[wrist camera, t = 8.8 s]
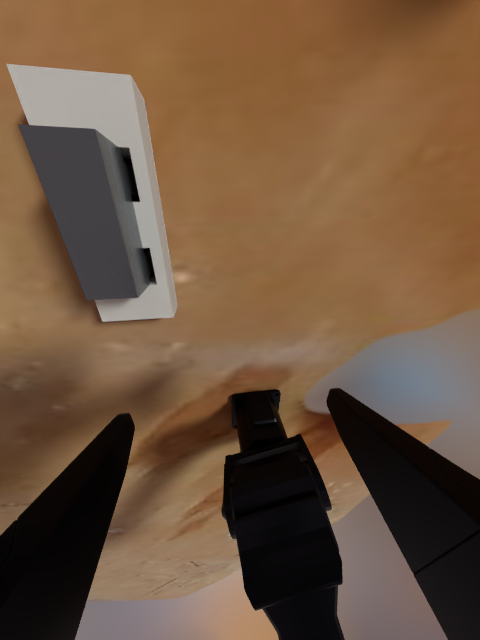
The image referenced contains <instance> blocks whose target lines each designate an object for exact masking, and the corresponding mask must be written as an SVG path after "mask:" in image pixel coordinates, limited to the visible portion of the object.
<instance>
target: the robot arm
mask: <svg viewBox="0 0 480 640" xmlns="http://www.w3.org/2000/svg"><path fill="white" fill-rule="evenodd" d="M280 395H281V393H280V391H279V390H269V391H261V392H252V393H243V394H235V395H233V396H232V426H233V428H234V429H237V430H238V437H239V445H240V453H237V454H234V455H227V456H226V459H225V464H224V494H223V503H222V516H223V517H224V518H225V519H226V520H227V524H228V528H229V532H230V535H231V537H232V539H237V545H238V550H239V556H240V562H241V567H242V574H243V582H244V588H245V592H246V594H247V596H248V598H249V600H250V602H251V604H252V606H253V608H254V609H255V610H259V609H263V610H264V612H265V613H266V615H267V617H268V618H269V620H270V621H271V623H272V625H273V626H274V628H275V630H276V631H277V634H278V637H279V640H345V639H344V636H343V633H342V630H341V627H340V623H339V620H338V617H337V596H338V585H341V584H342V561H341V557H340V555H339V548H338V544H337V541H336V539H335V536H334V533H333V530H332V527H331V524H330V521H329V518H328V516H327V513H326V511H329V510H332V507H331V502H330V499H329V496H328V493H327V490H326V487H325V485H324V482H323V480H322V477H321V475H320V473H319V470H318V468H317V466H316V464H315V462H314V460H313V458H312V456H311V454H310V452H309V450H308V448H307V446H306V444H305V442H304V440H303V438H302V436H301V434H298V435H296V436H294V437H291V438H287V435H286V432H285V429H284V427H283V424H282V421H281V418H280V416H279V413H278V410H279V402H280ZM327 406H328V408H329V411H330V413H331V416H332V418H333V420H334V423H335V425H336V428H337V430H338V432H339V435H340V437H341V439H342V441H343V443H344V445H345V447H346V449H347V450H348V452H349V454H350V456H351V458H352V460H353V462H354V464H355V465H356V467H357V469H358V471H359V473H360V475H361V477H362V479H363V480H364V482H365V484H366V486H367V488H368V490H369V492H370V494H371V495H372V497H373V499H374V501H375V503H376V505H377V506H378V509H379V510H380V512H381V514H382V516H383V518H384V520H385V522H386V524H387V525H388V527H389V529H390V531H391V533H392V535H393V537H394V538H395V540H396V542H397V544H398V546H399V548H400V550H401V552H402V554H403V556H404V557H405V559H406V561H407V563H408V565H409V567H410V569H411V571H412V572H413V573H414V577H415V578H416V580H417V582H418V584H419V586H420V588H421V590H422V591H423V593H424V595H425V597H426V599H427V601H428V603H429V605H430V606H431V608H432V610H433V612H434V614H435V616H436V618H437V620H438V621H439V623H440V625H441V627H442V629H443V631H444V633H445V634H446V637H447V638H448V640H480V479H478V478H476V477H475V476H473V475H471V474H470V473H468V472H467V471H464V470H463V469H462V468H460V467H459V466H457V465H455V464H454V463H452V462H450V461H449V460H448V459H446V458H445V457H443V456H441V455H440V454H438V453H437V452H435V451H434V450H432V449H429V447H428V446H426V445H425V444H423V443H422V442H420V441H419V440H417V439H416V438H414V437H413V436H411V435H410V434H408V433H407V432H405V431H404V430H402V429H401V428H399V427H398V426H396V425H395V424H393V423H392V422H390V421H388V420H387V419H385V418H384V417H382V416H381V415H379V414H378V413H376V412H375V411H373V410H372V409H370V408H369V407H367V406H365V405H364V404H363V403H361V402H360V401H358V400H357V399H355V398H354V397H352V396H351V395H349V394H348V393H346V392H345V391H343V390H342V389H340V388H333V389H330V391H329V394H328V397H327ZM134 431H135V425H134V422H133V420H132V417H131V415H130V414H129V413H123V414H118V415H117V416H116V417H115V418H114V419H113V420H112V421H111V422H110V423H109V424H108V425H107V426H106V427H105V428H104V429H103V430H102V431H101V432H100V433H99V434H98V435H97V436H96V438H95V439H94V440H93V441H92V442H91V443H90V444H89V445H88V446H87V447H86V448H85V449H84V450H83V451H82V452H81V453H80V454H79V455H78V456H77V457H76V458H75V459H74V460H73V461H72V462H71V463H70V464H69V465H68V466H67V467H66V468H65V470H64V471H63V472H62V473H61V474H60V475H59V476H58V477H57V478H56V479H55V480H54V481H53V482H52V483H51V484H50V485H49V486H48V487H47V488H46V489H45V490H44V491H43V492H42V493H41V494H40V495H39V496H38V497H37V498H36V499H35V500H34V502H33V503H32V504H31V505H30V506H29V507H28V508H27V509H26V510H25V511H24V512H23V513H22V514H21V515H20V516H19V517H18V519H17V520H15V521H14V522H13V523H12V524H11V525H10V526H9V527H8V528H7V529H6V530H5V531H4V532H3V533H2V534H1V535H0V640H75V636H76V634H77V630H78V627H79V624H80V620H81V617H82V614H83V611H84V608H85V604H86V601H87V598H88V595H89V591H90V588H91V585H92V581H93V578H94V575H95V572H96V568H97V565H98V562H99V559H100V555H101V552H102V549H103V546H104V542H105V539H106V536H107V533H108V529H109V526H110V523H111V520H112V516H113V513H114V510H115V507H116V503H117V500H118V497H119V493H120V490H121V487H122V484H123V480H124V477H125V473H126V470H127V465H128V460H129V455H130V450H131V446H132V441H133V436H134Z"/></svg>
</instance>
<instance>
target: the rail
mask: <svg viewBox="0 0 480 640" xmlns="http://www.w3.org/2000/svg"><path fill="white" fill-rule="evenodd" d="M7 67H8V70H9V72H10V75H11V78H12V80H13V83H14V86H15V88H16V91H17V94H18V96H19V99H20V102H21V105H22V107H23V110H24V113H25V115H26V118H27V121H28V123H29V125H37V126H55V127H72V128H89V129H96V130H97V131H98V132H100V133H101V134H102V135H103V136H105V137H106V138H107V139H109V140H110V141H111V142H112V143H114V144H115V145H116V146H118V147H119V148H120V149H121V150H122V155H123V158H131V159H132V164H133V169H134V174H135V179H136V184H137V189H138V194H139V198H140V202H133V205H134V210H135V215H136V219H137V224H138V229H139V233H140V238H141V242H142V247H143V248H150V252H151V257H152V262H153V267H154V272H155V277H149V279H150V285H149V286H148V287H147V288H146V290H145V291H144V292H143V293H142V294H141V295H140V296H139V298H126V299H104V300H95V303H96V306H97V308H98V311H99V314H100V316H101V319H102V322H107V321H123V320H140V319H156V318H172V317H174V315H175V312H176V309H177V306H178V305H177V298H176V292H175V286H174V280H173V274H172V267H171V261H170V255H169V249H168V243H167V236H166V230H165V224H164V218H163V212H162V205H161V199H160V193H159V187H158V180H157V174H156V168H155V162H154V156H153V149H152V143H151V137H150V131H149V125H148V118H147V112H146V106H145V100H144V98H143V97H142V95H141V93H140V91H139V89H138V87H137V86H136V84H135V82H134V80H133V78H132V76H131V75H125V74H113V73H102V72H91V71H80V70H68V69H57V68H46V67H35V66H24V65H12V64H7Z"/></svg>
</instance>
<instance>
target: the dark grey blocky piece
mask: <svg viewBox="0 0 480 640" xmlns="http://www.w3.org/2000/svg"><path fill="white" fill-rule="evenodd" d="M18 125H19V128H20V131H21V133H22V136H23V138H24V141H25V143H26V146H27V148H28V151H29V154H30V156H31V159H32V161H33V164H34V166H35V169H36V172H37V174H38V177H39V179H40V182H41V184H42V187H43V190H44V192H45V195H46V197H47V200H48V202H49V205H50V207H51V210H52V213H53V215H54V218H55V220H56V223H57V225H58V228H59V231H60V233H61V236H62V238H63V241H64V243H65V246H66V249H67V251H68V254H69V256H70V259H71V261H72V264H73V266H74V269H75V272H76V274H77V277H78V279H79V282H80V284H81V287H82V290H83V292H84V295H85V297H86V300H104V299H126V298H139V296H140V295H141V294H142V293H143V292H144V291H145V290H146V288H147V287H148V286H149V285H150V279H149V276H150V275H151V274H152V273H153V272H154V267H153V262H152V257H151V252H143V247H142V242H141V238H140V233H139V229H138V224H137V219H136V215H135V210H134V205H133V201H132V196H131V194H138V189H137V184H136V179H135V174H134V169H133V167H131V166H130V165H128V164H127V163H125V162H124V159H123V155H122V150H121V149H120V148H119V147H118V146H116V145H115V144H114V143H112V142H111V141H110V140H109V139H107V138H106V137H105V136H103V135H102V134H101V133H100V132H98V131H97V130H96V129H89V128H72V127H55V126H37V125H20V124H18Z"/></svg>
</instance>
